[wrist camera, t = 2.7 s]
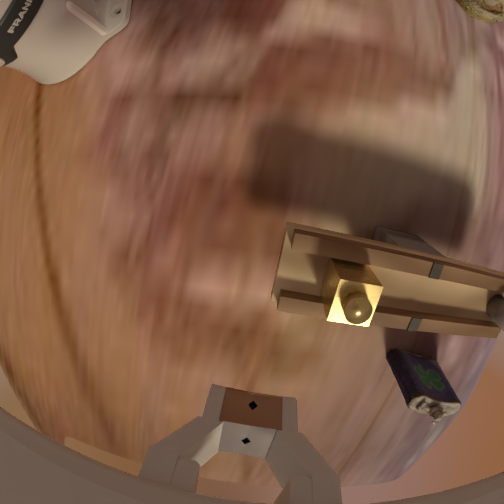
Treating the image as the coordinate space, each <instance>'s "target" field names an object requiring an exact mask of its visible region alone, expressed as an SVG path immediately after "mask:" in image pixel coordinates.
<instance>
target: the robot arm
mask: <svg viewBox="0 0 504 504" xmlns="http://www.w3.org/2000/svg"><path fill="white" fill-rule="evenodd" d="M131 2H132V0H0V67H2V66H6V67H9V68H12V69H15V70H18V71H20V72H22V73H25V74H26V75H28V76H30V77H32V78H33V79H34V80H36V81H37V82H39V83H42V84H54V83H58V82H61V81H63V80H65V79H67V78H69V77H70V76H72V75H73V74H75V73H76V72H77V71H79V70H80V69H81V68H82V67H83V66H84V65H85V64H86V63H87V62H88V61H89V60H90V59H91V58H92V57H93V56H94V54H95V53H96V52H97V51H98V49H99V48H100V47H101V46H102V44H103V43H104V42H105V41H106V40H107V39H109V38H111V37H112V36H114V35H115V34H117V33H118V32H119V31H121V30H122V29H123V28H124V27H125V26H126V25H127V24H128V22H129V20H130V11H131ZM119 11H121V12H120V13H119V14H117V13H118V12H119ZM218 450H219V451H225V452H232V453H239V454H245V455H251V456H257V457H263V458H265V459H266V461H267V463H268V464H269V466H270V468H271V470H272V471H273V473H274V475H275V476H276V478H277V480H278V481H279V483H280V485H281V486H282V488H283V490H282V491H281V493H280V494H279V496H278V497H277V499H276V500H275V502H274V503H273V504H342V497H341V488H340V479H339V475H338V474H337V473H336V472H335V471H334V470H333V469H332V467H331V466H330V465H329V464H328V463H327V462H326V461H325V459H324V458H323V457H322V456H321V455H320V454H319V452H318V451H317V450H316V449H315V448H314V447H313V445H312V444H311V443H310V442H309V441H308V439H307V438H306V437H305V436H304V435H303V433H299V432H298V420H297V400H296V398H291V397H283V396H282V397H281V396H275V395H268V394H261V393H255V392H254V393H253V392H248V391H243V390H238V389H234V388H229V387H227V388H226V387H223V386H219V385H215V384H212V386H211V388H210V391H209V395H208V398H207V402H206V406H205V409H204V413H203V416H202V417H200V416H198V417H196V418H195V419H193V420H192V421H190V422H189V423H187V424H186V425H184V426H183V427H181V428H180V429H178V430H177V431H175V432H173V433H172V434H170V435H169V436H167V437H166V438H164V439H162V440H161V441H159V442H158V443H156V444H154V445H153V446H151V447H150V448H149V450H148V453H147V455H146V458H145V460H144V463H143V465H142V468H141V470H140V473H139V475H138V476H135V475H132V474H130V473H127V472H124V471H121V470H119V469H116V468H113V467H111V466H108V465H106V464H103V463H101V462H99V461H96V460H94V459H92V458H89V457H87V456H85V455H83V454H81V453H79V452H77V451H74V450H72V449H70V448H68V447H66V446H64V445H62V444H60V443H59V442H57V441H55V440H53V439H51V438H49V437H47V436H46V435H44V434H42V433H40V432H39V431H37V430H35V429H34V428H32V427H30V426H29V425H27V424H25V423H24V422H22V421H21V420H19V419H17V418H16V417H14V416H13V415H11V414H10V413H8V412H7V411H5V410H4V409H3V408H1V407H0V504H265V503H254V502H246V501H239V500H232V499H226V498H220V497H215V496H210V495H205V494H200V493H197V488H198V478H199V469H200V467H201V466H202V465H203V464H205V463H206V462H207V461H208V460H209V459H210V458H211V457H212V456H214V455H215V454H216V453H217V452H218ZM371 504H504V472H501V473H499V474H496V475H493V476H491V477H488V478H485V479H482V480H479V481H476V482H473V483H470V484H467V485H464V486H460V487H457V488H453V489H449V490H445V491H442V492H437V493H433V494H428V495H424V496H418V497H413V498H407V499H401V500H395V501H388V502H380V503H371Z"/></svg>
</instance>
